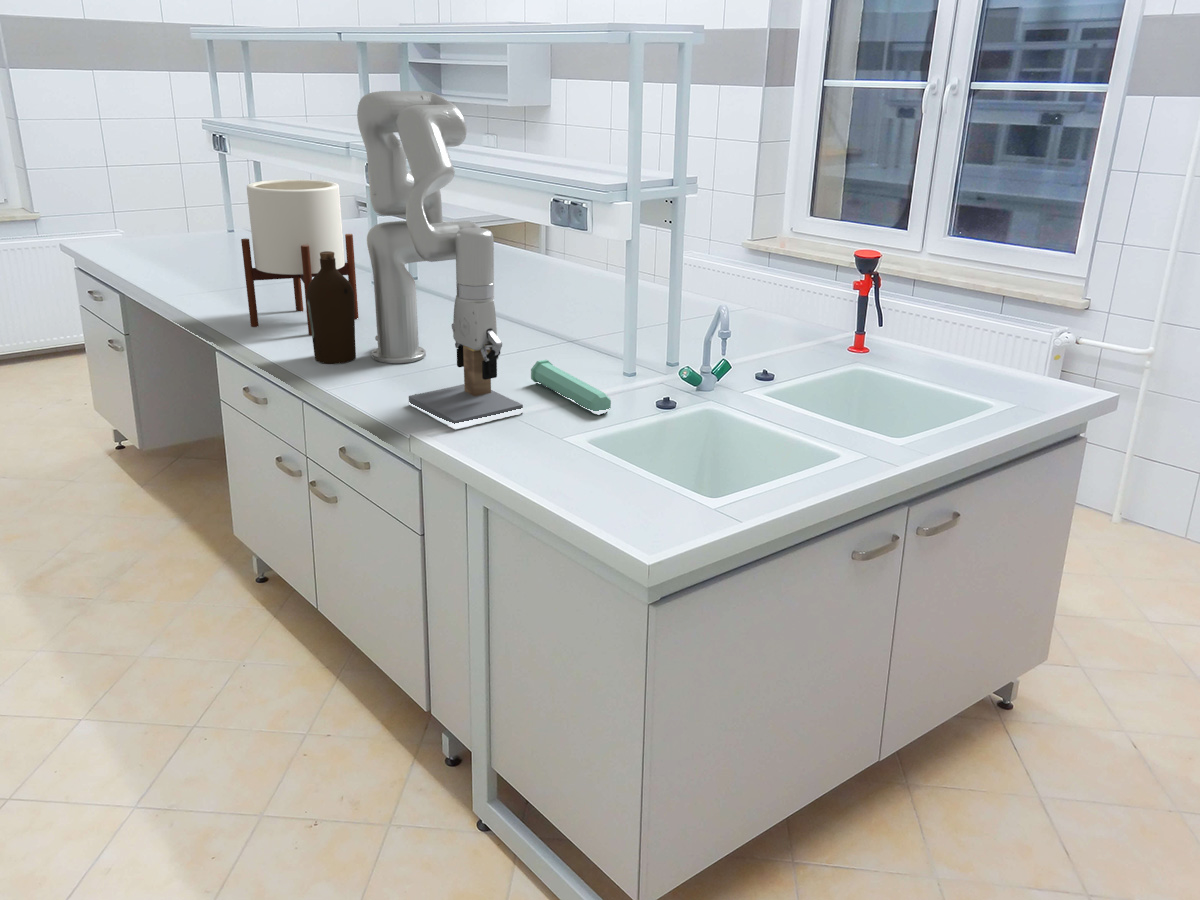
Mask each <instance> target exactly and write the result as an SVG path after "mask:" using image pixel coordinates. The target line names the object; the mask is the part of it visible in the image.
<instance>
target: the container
mask: <svg viewBox="0 0 1200 900" xmlns="http://www.w3.org/2000/svg"><path fill="white" fill-rule="evenodd" d="M530 379H531V380H532V382H534V383H535V382H539V383H541V384H543V385H545V386H547V387H548V388H550V389H552V390H554V391H556V392H558V393H560V394H561V395H563V396H565V397H567V398H570V399H572V400H574V401H575V402H576V403H578V404H579V405H581V406H583V407H585V408H587V409H590V410H593V411H599V410H606V409H609V408H610V409H611V408H612V407H611V404H612V401H611V398H610V397H609V396H608V394H606V393H605V392H604V391H602V390H600V389H598V388H596V387H594V386H592V385H591V384H588V383H587V382H585V381H583V380H581V379H579V378H578V377H575V376H573V375H571V374H570V373H568V372H566V371H564V370H562V369H561V368H559V367H557V366H555V365H553V364H552V363H551V362H550V361H549V360H548V359H541V360H537V361H536V362H535V364H534V365H532V367H531V368H530ZM541 384H540V385H541ZM543 385H542V386H543ZM545 386H544V387H545ZM547 387H546V388H547ZM548 388H547V389H548ZM550 389H549V390H550ZM552 390H551V391H552ZM610 409H609V410H610Z"/></svg>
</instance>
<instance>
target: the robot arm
mask: <svg viewBox="0 0 1200 900" xmlns="http://www.w3.org/2000/svg"><path fill="white" fill-rule="evenodd" d="M356 111H357V112H356V113H357V114H356V118H357V123H358V124H357V125H358V128H359V132H360V133H359V134H360V135H361V137H362V141H363V144H364V148H365V152H366V159H367V161H366V162H367V173H368V185H369V195H370V196H369V197H370V202H371V203H370V204H371V207H372V208H373V211H374V212H375V213H376V214H377V215H380V216H383V217H384V216H385V217H387V216H388V217H390V216H393V217H395V216H405V219H406V220H398V221H387V222H381V223H378V224H375V225H373V226H371V228H370V229H369V230H368V232H367V234H366V244H367V250H368V254H369V260H370V263H371V268H372V269H371V270H372V277H373V278H372V279H373V289H374V290H373V291H374V304H375V318H376V319H375V321H376V333H377V334H376V336H375V338H374V339H375V341H377V348H374V350H372V351H371V357H372V359H373V360H375V361H377V362H380V363H385V364H407V363H408V364H409V363H413V362H417V361H420V360H422V359H424V358H425V357H426V349H425V348H423V347H422V346H419V345H420V344H419V327H418V322H419V321H418V303H417V287H416V286H417V283H416V280H415V279H414V277H413V275H412V274H411V273H410V271H409V270H408V269H407V268H406V267H405V266H406V265H407V264H411V263H422V262H428V263H429V262H430V263H433V262H434V263H435V262H437V263H438V262H445V261H454V260H455V275H456V276H455V281H456V282H455V283H456V284H455V285H456V295H455V299H454V305H453V306H454V308H453V318H452V320H453V323H451V329H452V337H453V339H454V341H455V344H454V346H455V348H456V366H457V367H458V368H462V367H463V368H464V355H463V345H464V346H466V347H468V348H470V349H473V350H475V351H478V350H481V353H482V355H483V358H484V360H483V361H482V378H483V379H484V380H487V379H491V380H492V379H496V378H497V377H498V373H497V372H498V363H497V362H498V360H499V356H500V355H501V350H502V347H503V342H502V341H501V340H500V338H499V337H498V327H497V316H496V315H497V314H496V306H495V300H494V299H495V259H494V256H495V255H494V253H495V252H494V247H495V244H494V243H495V242H494V241H495V240H494V235H493V232H492V231H491V230H489V229H488V228H483V227H480V225H478V224H477V223H475V222H474V221H470V220H463V221H462V220H460V221H445V222H443V206H442V205H443V204H442V195H441V190H442V189H443V188H445V187H446V186H447V185H449V183H451V182H452V180H453V179H454V177H455V173H456V171H455V168H454V165H453V162H452V159H451V156H450V153H449V151H448V148H451V147H459V146H461V145H462V144H463V143H464V142H465V139H466V137H467V124H466V120H465V117H464V116H463V114H462V112H461V110H460V109H459V108H458V107H457V105H455V104H453V103H452V102H450V101H449V100H447V99H445V98H443V96H440V95H439V94H437V93H435V92H431V91H426V90H424V91H423V90H422V91H421V90H414V91H413V90H381V91H380V90H379V91H374V92H372V91H371V92H369V93H367V94H365V95H364V96H362V97H361V98H360V100H359V102H358V105H357V110H356ZM396 133H398V136H399V138H398V136H397V135H396ZM407 162H408V166H409V169H410V171H409V170H408V166H407ZM484 345H485V346H484ZM489 349H490V352H489V353H487V351H486V350H489Z"/></svg>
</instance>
